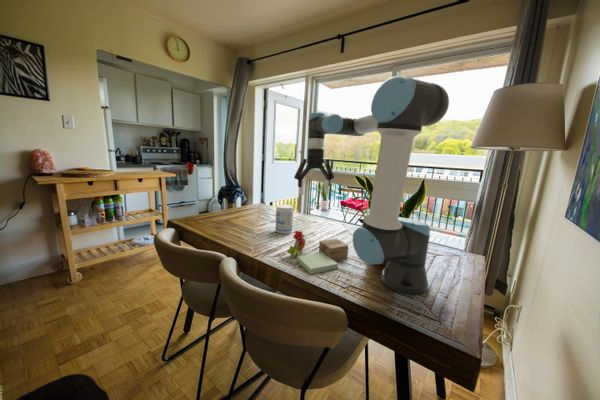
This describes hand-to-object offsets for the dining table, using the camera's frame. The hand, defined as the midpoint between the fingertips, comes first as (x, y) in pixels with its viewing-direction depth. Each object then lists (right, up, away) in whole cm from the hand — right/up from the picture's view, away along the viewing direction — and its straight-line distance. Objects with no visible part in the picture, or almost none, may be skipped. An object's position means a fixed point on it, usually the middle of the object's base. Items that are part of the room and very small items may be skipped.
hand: (314, 193), depth 116 cm
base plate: (0, -29, -18) cm, 34 cm away
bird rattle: (-8, -27, -9) cm, 30 cm away
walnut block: (+8, -28, -9) cm, 30 cm away
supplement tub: (-16, -21, +21) cm, 34 cm away
